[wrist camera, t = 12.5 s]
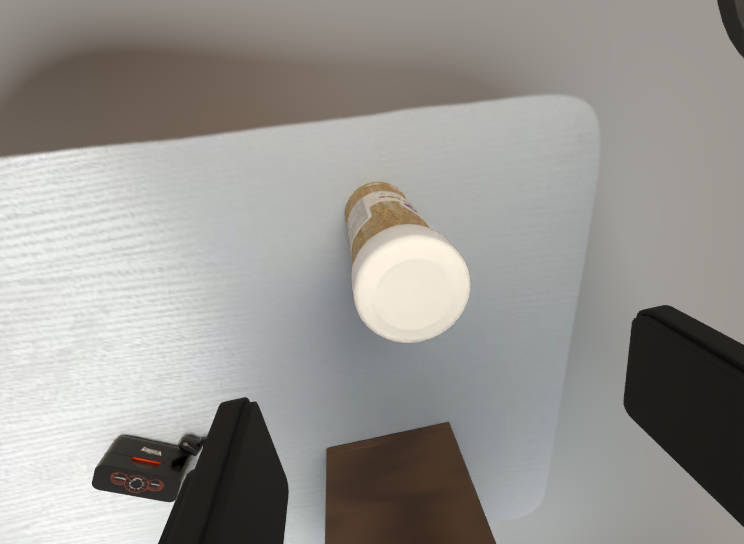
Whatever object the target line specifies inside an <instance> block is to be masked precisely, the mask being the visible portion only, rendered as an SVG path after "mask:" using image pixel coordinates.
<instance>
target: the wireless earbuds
mask: <svg viewBox="0 0 744 544" xmlns="http://www.w3.org/2000/svg"><path fill="white" fill-rule="evenodd" d="M205 441H206V438H201V440H199V439H196V438H194V437H191V436H183V437H182V438H181V439H180V441H179V443H178V446H179V447H177V446H172V445H167V444H163V443H158V442H153V441H149V440H144V439H139V438H134V437H130V436H119V437H117V438H116V439H115V440H114V442H113V443H112V445H111V446H110V448H109V449H108V450H107V452H106V453H105V455H104V456H103V458H102V459H101V461H100V462H99V464H98V465H97V466H96V468H95V471H94V476H93V480H92V486H93V487H94V488H95V489H98V490H102V491H108V492H114V493H119V494H125V495H131V496H136V497H142V498H147V499H153V500H159V501H164V502H172V501H174V500H176V498H177V496H178V493H179V491H180V488H181V486H182V484H183V481H184V479H185V476H186V474H187V472H188V469H189V466H190V463H191V460H192V456H196V455H197V454H198V453H199V452H200V451H201V449H202V446H204V443H205Z"/></svg>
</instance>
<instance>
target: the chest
mask: <svg viewBox="0 0 744 544" xmlns="http://www.w3.org/2000/svg"><path fill="white" fill-rule="evenodd" d="M325 544H496V542H495V540H494V537H493V534H492V532H491V529H490V527H489V524H488V521H487V519H486V516H485V514H484V511H483V508H482V506H481V503H480V501H479V498H478V496H477V493H476V490H475V488H474V485H473V483H472V480H471V477H470V475H469V472H468V470H467V467H466V465H465V462H464V459H463V457H462V454H461V452H460V449H459V446H458V444H457V441H456V439H455V436H454V434H453V431H452V428H451V426H450V423H449V422H448V423H443V424H438V425H434V426H429V427H424V428H420V429H415V430H410V431H406V432H401V433H396V434H392V435H387V436H382V437H378V438H373V439H368V440H364V441H359V442H354V443H350V444H345V445H340V446H336V447H331V448H327V459H326V515H325Z"/></svg>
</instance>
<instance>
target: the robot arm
mask: <svg viewBox="0 0 744 544" xmlns="http://www.w3.org/2000/svg"><path fill="white" fill-rule="evenodd" d="M624 407H625V409H626V412H627V413H628V415H629V416H630V417H631V418H632V419H633V420H634V421H635V422H636V423H637V424H638V425H639V426H640V427H641V428H642V429H643V430H644V431H645V432H646V433H647V434H648V435H649V436H651V437H652V438H653V439H654V440H655V441H656V442H657V443H658V444H659V445H660V446H661V447H662V448H663V449H664V450H665V451H666V452H667V453H668V454H669V455H670V456H671V457H672V458H673V459H674V460H675V461H676V462H677V463H678V464H679V465H680V466H681V467H682V468H684V470H685V471H687V473H689V474H690V475H691V476H692V477H693V478H694V479H695V480H696V481H697V482H698V483H699V484H700V485H701V486H702V487H703V488H704V489H705V490H706V491H707V492H708V493H709V494H710V495H711V496H712V497H713V498H714V499H716V501H717V502H718V503H720V504H721V505H722V506H723V507H724V508H725V509H726V510H727V511H728V512H729V513H730V514H731V515H732V516H733V517H734V518H735V519H736V520H737V521H738V522H739V523H740V524H741V525H742V526H743V527H744V345H743V344H741V343H739V342H737V341H735V340H734V339H732V338H730V337H728V336H726V335H724V334H722V333H720V332H718V331H717V330H714V329H713V328H711V327H709V326H707V325H705V324H704V323H701V322H700V321H698V320H696V319H694V318H692V317H690V316H688V315H687V314H685V313H683V312H681V311H679V310H677V309H675V308H673V307H671V306H668V305H662V306H658V307H653V308H649V309H645V310H641V311H639V313H638V314H637V317H636V318H634V320H633V321H632V327H631V337H630V346H629V355H628V364H627V373H626V383H625V393H624ZM288 493H289V491H288V482H287V478H286V475H285V473H284V470H283V468H282V465H281V462H280V460H279V457H278V455H277V452H276V449H275V447H274V444H273V442H272V439H271V436H270V434H269V431H268V429H267V426H266V424H265V421H264V418H263V416H262V413H261V411H260V408H259V406H258V404H257V402H250V401H249V399H248V398H246V397H244V398H239V399H235V400H230V401H226V402H222V403H221V404H220V405H219V407H218V410H217V413H216V415H215V418H214V420H213V423H212V425H211V428H210V431H209V433H208V436H207V438H206V441H205V443H204V446H203V449H202V451H201V454H200V456H199V459H198V462H197V464H196V467H195V469H193V470H191V471H190V472H189V473H188V474H187V476H186V477H185V479H184V481H183V484H182V486H181V489H180V491H179V493H178V496H177V498H176V501H175V503H174V506H173V508H172V511H171V513H170V516H169V518H168V521H167V523H166V525H165V528H164V530H163V533H162V535H161V538H160V540H159V543H158V544H283V541H284V532H285V523H286V514H287V504H288Z"/></svg>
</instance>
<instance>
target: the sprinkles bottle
mask: <svg viewBox="0 0 744 544" xmlns="http://www.w3.org/2000/svg"><path fill="white" fill-rule="evenodd" d="M345 218H346V223H347V225H348V236H349V244H350V251H351V259H352V264H353V268H352V277H351V279H352V290H353V297H354V302H355V306H356V309H357V311H358V314H359V316H360V317H361V319H362V321H363V322H364V323H365V325H366V326H367V327H369V328H370V329H371V330H372V331H373V332H374V333H376V334H377V335H379V336H381V337H383V338H385V339H388V340H391V341H395V342H401V343H415V342H421V341H425V340H428V339H431V338H433V337H436V336H438V335H440V334H441V333H443V332H444V331H446V330H447V329H448V328H450V327H451V326H452V325H453V324H454V323H455V322H456V321H457V319H458V318H459V317H460V316H461V314H462V312H463V311H464V309H465V306H466V304H467V301H468V298H469V294H470V277H469V272H468V268H467V266H466V264H465V262H464V260H463V258H462V257H461V255H460V254H459V253H458V251H457V250H456V249H455V248H454V247H453V246H452V244H451V243H450V242H449V241H448V240H447V239H446V238H445V237H443V236H442V235H441V234H439V233H438V232H436V231H434V230H432V229H430V228H429V226H428V225H427V223H426V222H425V221H424V219H423V218H422V217H421V216H420V215H419V214H418V213H417V212H416V210H415V209H414V208H413V207H412V205H411V204H410V203H409V202H408V201H407V200H406V198H405V197H404V195H403V194H402V192H400V191H399V190H398V189H397V188H396V187H394V186H392V185H390V184H387V183H381V182H373V183H369V184H366V185H364V186H362V187H360V188H359V189H358V190H357V191H355V192H354V194H353V195H352V196H351V197H350V199H349V202H348V203H347V206H346V211H345Z"/></svg>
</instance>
